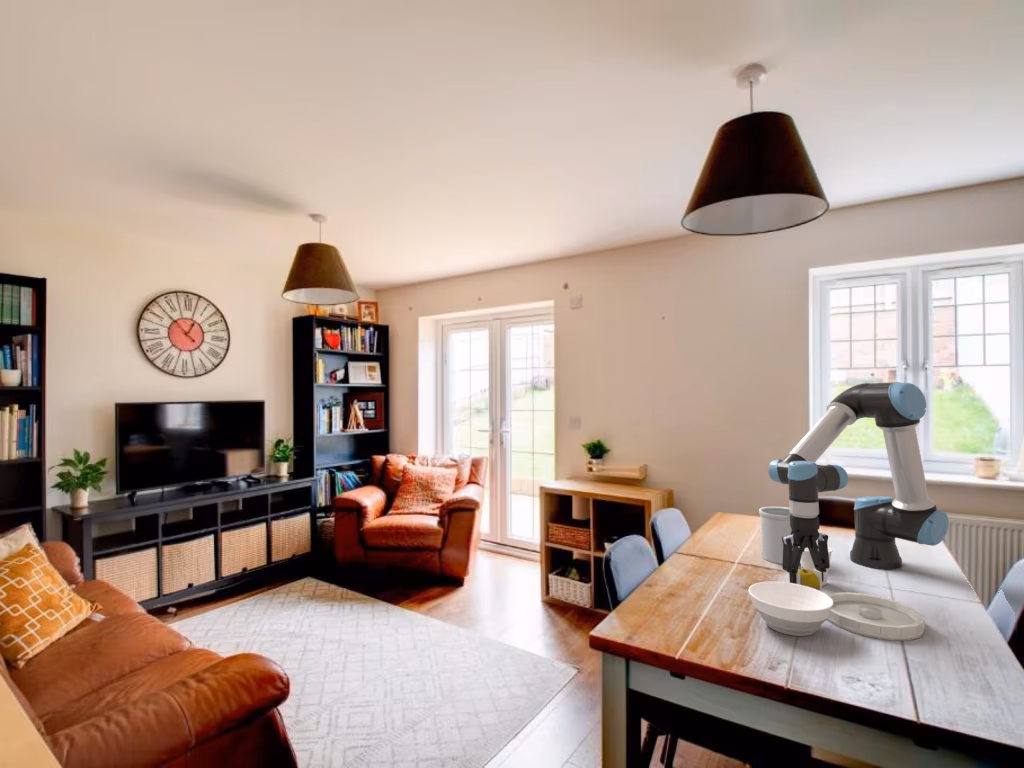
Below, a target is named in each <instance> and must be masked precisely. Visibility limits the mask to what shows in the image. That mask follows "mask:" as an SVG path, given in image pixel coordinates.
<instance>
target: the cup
mask: <svg viewBox="0 0 1024 768" xmlns="http://www.w3.org/2000/svg"><path fill="white" fill-rule="evenodd" d="M798 547H799V546H798ZM818 551H819V550H818ZM832 553H833V549H832V548H830V547H828V554H829V563H831V557H832ZM800 562H801V564H800V568H801V569H803V568H804V569H806V570H810V571H812V569H816V568H815V566H814V563H813V561H812V558H811V555H810V552H809V549H808V548H805V550H804V552H802V556H801V560H800ZM802 567H803V568H802ZM829 569H830V568H829ZM829 569H826V570H827V571H826V572H823V575H824V581H823V582H822V587H823V586H825V585H826V584H827V583H828V582H827V581H828V576H829ZM812 572H813V571H812Z"/></svg>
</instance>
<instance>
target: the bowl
mask: <svg viewBox="0 0 1024 768" xmlns="http://www.w3.org/2000/svg"><path fill="white" fill-rule="evenodd" d="M748 593H749V597H750V599H751V601H752V604H753V605H754V607H755V610H756V611H757V613H759V615H760V617H761V619H762V620H763V621H764V622H765V623H766V625H767V626H768V627H769V628H770V629H772V630H774V631H775V632H778V633H781V634H784V635H790V636H794V637H795V636H796V637H809V636H811V635H813V634H815V632H816V631H817V630H819V628H821V626H822V625H823V623H825V621H827V620H826V619H827V617H828V616H829V613H830V611H831V609H832V606H833V600H832V599H831V598H830V597H829V596H828V594H827V593H825V592H823V591H822V592H821V591H819V590H816V589H814V588H810V587H807V586H803V585H799V584H794V583H790V582H786V581H785V582H784V581H762V582H761V581H760V582H756V583H753V584H752V585H750V586H749V587H748Z"/></svg>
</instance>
